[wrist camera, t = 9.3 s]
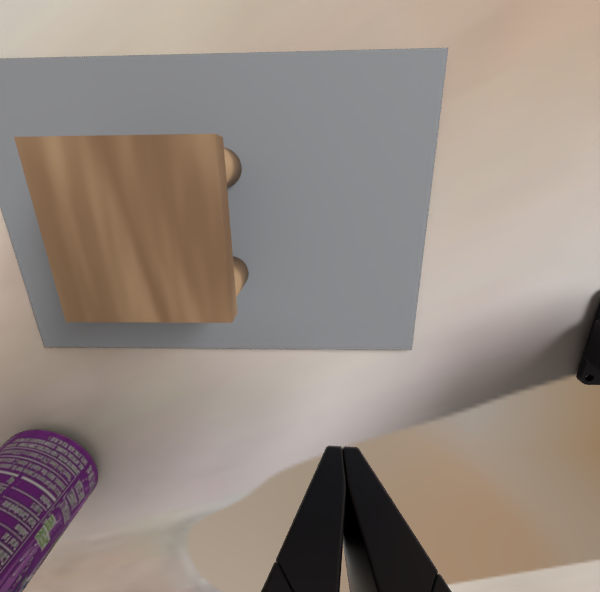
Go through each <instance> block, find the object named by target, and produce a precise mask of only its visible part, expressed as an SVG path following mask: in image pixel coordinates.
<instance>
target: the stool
mask: <svg viewBox="0 0 600 592" xmlns="http://www.w3.org/2000/svg"><path fill="white" fill-rule="evenodd" d="M14 139H15V143H16V146H17V150H18V153H19V157H20V160H21V164H22V168H23V171H24V175H25V178H26V182H27V185H28V189H29V193H30V196H31V200H32V203H33V207H34V210H35V214H36V217H37V221H38V225H39V228H40V232H41V235H42V239H43V242H44V246H45V249H46V253H47V257H48V260H49V264H50V267H51V271H52V274H53V278H54V282H55V285H56V289H57V292H58V296H59V299H60V303H61V306H62V310H63V314H64V317H65V321H66V322H154V323H232V322H233V320H234V318H235V316H236V315H237V301H236V298H237V296H238V294H239V293H240V291H241V289H242V288H243V286H244V285H245V283H246V281H247V279H248V276H249V272H248V268H247V266H246V264H245V263H244V262H243V261H242V260H241V259H239V258H237V257H234V256H233V252H232V240H231V228H230V216H229V204H228V192H227V187H230V186H232V185H234V184H235V183H236V182H237V181H238V180H239V178H240V176H241V172H242V166H241V162H240V159H239V157H238V156H237V155H236V154H235V153H234V152H233V151H232V150H230V149H228V148H225V147H224V143H223V137H221V136H219V135H217V134H161V135H97V136H33V137H14Z"/></svg>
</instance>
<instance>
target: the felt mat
mask: <svg viewBox="0 0 600 592" xmlns="http://www.w3.org/2000/svg"><path fill="white" fill-rule="evenodd" d="M447 54H448V48H420V49H378V50H337V51H296V52H254V53H213V54H171V55H130V56H89V57H47V58H6V59H0V207H1V210H2V213H3V217H4V220H5V223H6V226H7V229H8V233H9V236H10V239H11V242H12V245H13V248H14V252H15V255H16V258H17V261H18V264H19V268H20V271H21V274H22V277H23V280H24V283H25V287H26V290H27V293H28V296H29V299H30V302H31V306H32V309H33V312H34V315H35V318H36V322H37V325H38V328H39V331H40V334H41V337H42V341H43V344H44V347H96V348H230V349H363V350H412V343H413V334H414V326H415V318H416V310H417V301H418V293H419V285H420V277H421V268H422V260H423V252H424V244H425V235H426V227H427V219H428V211H429V202H430V194H431V186H432V178H433V169H434V161H435V153H436V145H437V137H438V128H439V120H440V112H441V104H442V95H443V87H444V79H445V71H446V62H447ZM161 134H217V135H219V136H221V137H223V143H224V147H225V148H228V149H230V150H232V151H233V152H234V153H235V154H236V155H237V156H238V157H239V159H240V162H241V166H242V172H241V176H240V178H239V180H238V181H237V182H236V183H235V184H234V185H232V186H230V187H227V192H228V204H229V216H230V228H231V240H232V252H233V256H234V257H237V258H239V259H241V260H242V261H243V262H244V263H245V264H246V266H247V268H248V272H249V276H248V279H247V281H246V283H245V285H244V286H243V288H242V289H241V291H240V293H239V294H238V296H237V298H236V301H237V315H236V316H235V318H234V320H233V322H232V323H154V322H66V321H65V317H64V314H63V310H62V306H61V303H60V299H59V296H58V292H57V289H56V285H55V282H54V278H53V274H52V271H51V267H50V264H49V260H48V257H47V253H46V249H45V246H44V242H43V239H42V235H41V232H40V228H39V225H38V221H37V217H36V214H35V210H34V207H33V203H32V200H31V196H30V193H29V189H28V185H27V182H26V178H25V175H24V171H23V168H22V164H21V160H20V157H19V153H18V150H17V146H16V143H15V139H14V137H33V136H97V135H161Z"/></svg>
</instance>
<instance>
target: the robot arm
mask: <svg viewBox="0 0 600 592" xmlns="http://www.w3.org/2000/svg"><path fill="white" fill-rule="evenodd" d="M586 376H587V377H586ZM576 377H577V379H578V380H580V381H581V382H582V383H584V384H587V385H600V305H599V308H598V311H597V314H596V317H595V320H594V323H593V326H592V329H591V332H590V335H589V338H588V341H587V344H586V347H585V350H584V353H583V357H582V360H581V363H580V366H579V369H578V372H577V376H576ZM343 544H344V553H345V560H346V567H347V575H348V582H349V589H350V592H451V590H450V589H449V587H448V586H447V584H446V583H445V581H444V579H443V578H442V576H441V575H440V574H438V571H437V569H436V567H435V566H434V564H433V563H432V561H431V560H430V558H429V556H428V555H427V553H426V552H425V550H424V549H423V547H422V546H421V544H420V543H419V541H418V539H417V538H416V536H415V535H414V533H413V532H412V530H411V529H410V527H409V526H408V524H407V522H406V521H405V519H404V518H403V516H402V515H401V513H400V512H399V510H398V509H397V507H396V505H395V504H394V503H393V501H392V499H391V498H390V496H389V495H388V493H387V492H386V490H385V488H384V487H383V485H382V484H381V482H380V481H379V479H378V478H377V476H376V474H375V473H374V471H373V470H372V468H371V467H370V465H369V464H368V462H367V461H366V459H365V457H364V456H363V454H362V453H361V451H360V450H359V449H358V448H357V447H343V449H342V447H340V446H327V447H326V449H325V451H324V453H323V456H322V458H321V460H320V462H319V465H318V467H317V469H316V471H315V473H314V476H313V478H312V480H311V483H310V485H309V487H308V489H307V491H306V494H305V496H304V498H303V500H302V503H301V505H300V507H299V509H298V511H297V514H296V516H295V518H294V520H293V523H292V525H291V527H290V529H289V532H288V534H287V536H286V538H285V541H284V543H283V545H282V548H281V549H280V552H279V554H278V556H277V558H276V562H275V563H274V565H273V567H272V569H271V571H270V573H269V576H268V578H267V580H266V582H265V584H264V587H263V589H262V591H261V592H339V590H340V589H339V588H340V576H341V561H342V548H343ZM437 574H438V575H437Z"/></svg>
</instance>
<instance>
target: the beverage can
mask: <svg viewBox="0 0 600 592" xmlns="http://www.w3.org/2000/svg"><path fill="white" fill-rule="evenodd" d="M97 481H98V470H97V467H96V464H95V462H94V460H93V458H92V457H91V455H90V454H89V453H88V452H87V451H86V450H85V449H84V448H83V447H82V446H81V445H80V444H78V443H77V442H75V441H74V440H72V439H70V438H68V437H66V436H64V435H62V434H59V433H56V432H52V431H48V430H27V431H23V432H20V433H18V434H16V435H14V436H13V437H11V438H10V439H9V440H8V441H7V442H6V443H4V444H3V445H2V446H1V447H0V592H22V591H23V590H24V588H25V587H26V586H27V584H28V583H29V581H30V580H31V578H32V577H33V575H34V574H35V573H36V571H37V570H38V568H39V567H40V565H41V564H42V563H43V561H44V560H45V558H46V557H47V555H48V554H49V553H50V551H51V550H52V548H53V547H54V545H55V544H56V543H57V541H58V540H59V538H60V537H61V535H62V534H63V533H64V531H65V530H66V528H67V527H68V525H69V524H70V523H71V521H72V520H73V518H74V517H75V515H76V514H77V513H78V511H79V510H80V508H81V507H82V505H83V504H84V503H85V501H86V500H87V498H88V497H89V495H90V494H91V492H92V491H93V490H94V488H95V486H96V484H97Z"/></svg>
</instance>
